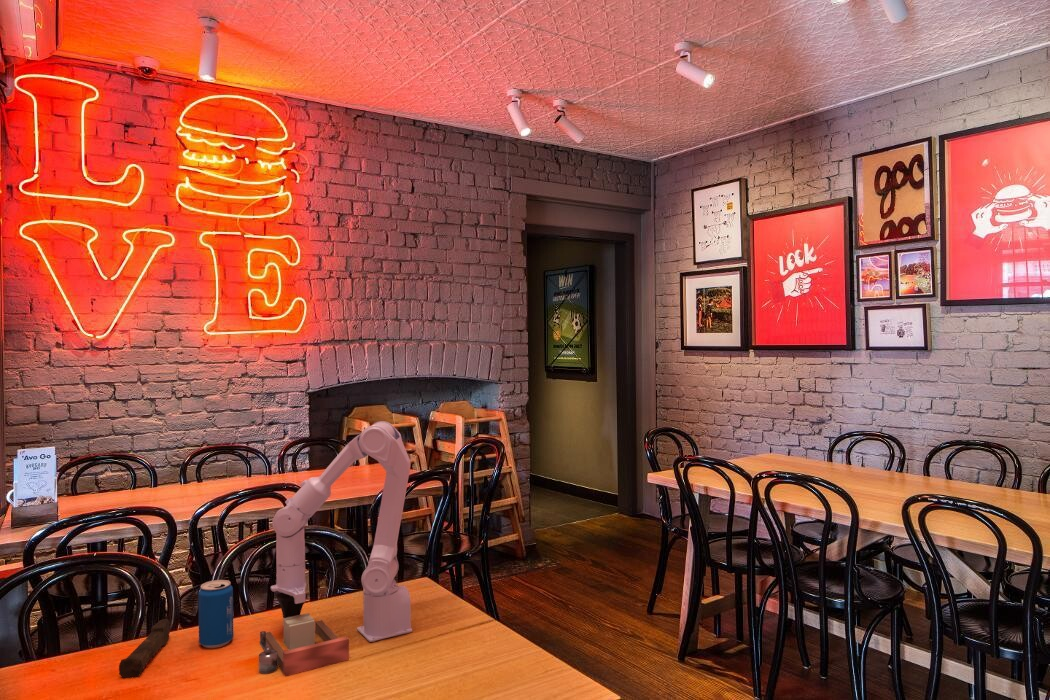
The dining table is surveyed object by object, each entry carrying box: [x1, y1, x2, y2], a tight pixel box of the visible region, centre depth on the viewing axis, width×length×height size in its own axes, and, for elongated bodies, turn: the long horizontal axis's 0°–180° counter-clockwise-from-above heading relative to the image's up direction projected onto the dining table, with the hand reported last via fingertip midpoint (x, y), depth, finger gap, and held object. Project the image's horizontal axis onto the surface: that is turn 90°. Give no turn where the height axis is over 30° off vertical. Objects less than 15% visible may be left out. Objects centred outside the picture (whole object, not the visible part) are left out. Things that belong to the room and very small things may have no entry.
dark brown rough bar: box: [118, 618, 171, 679], centre depth 137 cm, size 19×4×5 cm, turn 5°
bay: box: [266, 619, 350, 677], centre depth 138 cm, size 12×17×4 cm
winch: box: [258, 630, 278, 675], centre depth 132 cm, size 3×6×6 cm, turn 33°
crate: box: [282, 613, 316, 650], centre depth 142 cm, size 5×5×5 cm
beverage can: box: [197, 579, 234, 649], centre depth 143 cm, size 6×6×12 cm
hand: (291, 627), depth 147 cm, fingers closed
